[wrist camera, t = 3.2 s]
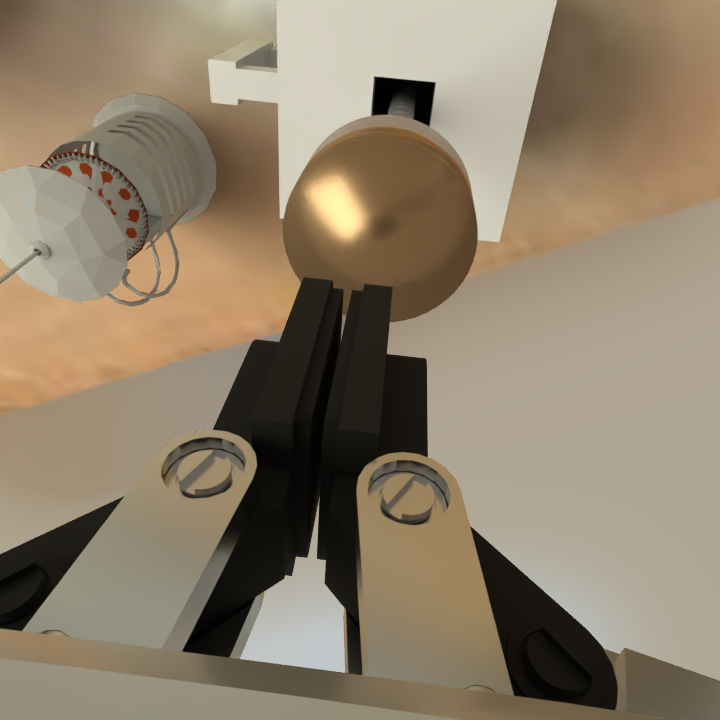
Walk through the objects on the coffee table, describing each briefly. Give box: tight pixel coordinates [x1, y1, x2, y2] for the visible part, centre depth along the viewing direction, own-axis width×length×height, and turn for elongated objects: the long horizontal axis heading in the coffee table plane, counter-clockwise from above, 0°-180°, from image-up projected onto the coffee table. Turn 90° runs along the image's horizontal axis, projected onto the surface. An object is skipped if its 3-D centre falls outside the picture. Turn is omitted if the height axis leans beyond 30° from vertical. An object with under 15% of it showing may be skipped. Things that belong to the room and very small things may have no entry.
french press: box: [0, 93, 216, 306], centre depth 32 cm, size 10×12×25 cm
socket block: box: [208, 0, 557, 242], centre depth 31 cm, size 16×12×13 cm
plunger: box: [283, 83, 478, 322], centre depth 21 cm, size 5×5×18 cm
